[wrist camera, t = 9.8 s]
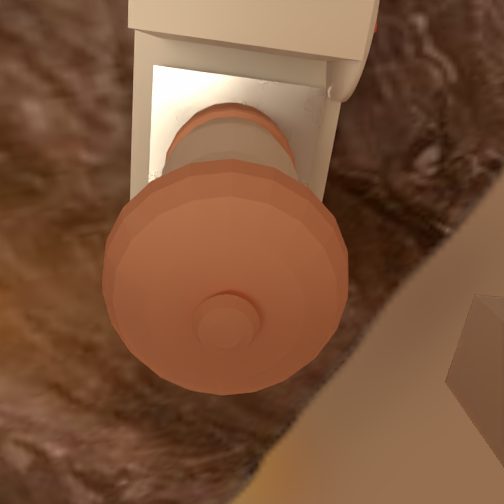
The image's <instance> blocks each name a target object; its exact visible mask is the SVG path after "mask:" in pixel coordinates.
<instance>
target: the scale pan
mask: <svg viewBox="0 0 504 504" xmlns="http://www.w3.org/2000/svg"><path fill="white" fill-rule="evenodd" d="M325 92H326V89H325V88H320V87H312V86H305V85H297V84H290V83H283V82H275V81H268V80H261V79H253V78H246V77H238V76H231V75H224V74H216V73H209V72H202V71H194V70H187V69H179V68H172V67H165V66H157V65H154V69H153V92H152V115H151V138H150V161H149V183H150V182H151V181H152V180H154V179H156V178H158V177H160V176H162V169H163V167H164V165H165V160H166V153H167V151H168V149H169V147H170V145H171V143H172V141H173V139H174V137H175V135H176V133H177V132H178V131H179V130H180V128H181V127H182V126H183V125H184V124H185V123H186V122H187V121H188V120H189V119H190V118H191V117H192V116H193V115H194V114H195V113H196V112H198V111H200V110H203V109H205V108H207V107H209V106H211V105H213V104H221V103H231V102H234V103H239V104H243V105H248V106H252V107H254V108H255V109H257V110H259V111H260V112H262V113H264V114H265V115H267V116H268V117H269V118H270V119H271V120H272V121H273V122H274V123H275V125H276V126H277V127H278V128H279V129H280V131H281V132H282V133H283V135H284V136H285V138H286V139H287V141H288V144H289V146H290V149H291V152H292V154H293V157H294V159H295V171H296V173H297V176H298V182H300V183H302V184H303V185H305V186H307V187H308V188H309V182H310V176H311V171H312V165H313V160H314V154H315V148H316V143H317V137H318V132H319V126H320V120H321V115H322V109H323V103H324V98H325Z"/></svg>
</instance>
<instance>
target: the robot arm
mask: <svg viewBox="0 0 504 504" xmlns="http://www.w3.org/2000/svg"><path fill="white" fill-rule="evenodd" d="M445 383H446V384H447V386H448V387H449V389H450V390H451V392H452V393H453V394H454V396H455V397H456V398H457V400H458V402H459V403H460V404H461V406H462V407H463V409H464V410H465V412H466V413H467V415H468V416H469V418H470V419H471V420H472V422H473V423H474V425H475V426H476V428H477V429H478V430H479V432H480V434H481V435H482V436H483V438H484V439H485V441H486V442H487V444H488V445H489V446H490V448H491V449H492V451H493V452H494V454H495V455H496V457H497V458H498V460H499V461H500V463H501V464H502V465H503V467H504V298H503V297H498V296H487V295H477V294H475V296H474V298H473V301H472V304H471V307H470V310H469V313H468V316H467V319H466V322H465V325H464V328H463V330H462V333H461V337H460V339H459V342H458V345H457V348H456V351H455V354H454V357H453V360H452V363H451V366H450V368H449V371H448V375H447V377H446V380H445Z"/></svg>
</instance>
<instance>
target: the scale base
mask: <svg viewBox="0 0 504 504" xmlns="http://www.w3.org/2000/svg"><path fill="white" fill-rule="evenodd" d="M378 7H379V0H129V4H128V28H130V29H134V30H135V44H134V79H133V114H132V150H131V185H130V200H132V199H133V198H134V197H135V196H136V195H137V194H138V193H139V192H140V191H141V190H142V189H143V188H144V187H145V186H146V185H147V184H149V161H150V138H151V115H152V92H153V69H154V65H157V66H165V67H172V68H179V69H187V70H194V71H202V72H209V73H216V74H224V75H231V76H238V77H246V78H253V79H261V80H268V81H275V82H283V83H290V84H297V85H305V86H312V87H320V88H325V89H326V92H325V98H324V103H323V109H322V115H321V120H320V126H319V132H318V137H317V143H316V148H315V154H314V160H313V165H312V171H311V176H310V182H309V188H310V189H311V190H312V192H313V193H314V194H315V195H316V196H317V197H318V199H319V200H320V201H321V202H322V200H323V195H324V190H325V185H326V179H327V174H328V169H329V164H330V158H331V153H332V148H333V143H334V138H335V132H336V127H337V122H338V117H339V112H340V106H341V102H346V101H347V100H348V99H349V98H350V97H351V95H352V94H353V92H354V90H355V88H356V86H357V84H358V82H359V79H360V77H361V74H362V72H363V69H364V66H365V63H366V60H367V56H368V53H369V49H370V46H371V42H372V38H373V33H376V29H377V24H378V23H376V19H377V13H378Z"/></svg>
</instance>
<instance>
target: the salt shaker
mask: <svg viewBox="0 0 504 504" xmlns="http://www.w3.org/2000/svg"><path fill="white" fill-rule="evenodd" d="M102 290H103V294H104V298H105V302H106V306H107V310H108V314H109V318H110V322H111V324H112V325H113V327H114V328H115V330H116V331H117V333H118V334H119V336H120V337H121V339H122V341H123V342H124V344H125V345H126V347H127V348H128V350H129V351H130V352H131V353H132V354H133V355H134V356H136V357H137V358H138V359H139V360H140V361H141V362H143V363H144V364H145V365H146V366H148V367H149V368H150V369H151V370H152V371H154V372H155V373H156V374H157V375H158V376H160V377H161V378H163V379H165V380H167V381H170V382H172V383H174V384H177V385H179V386H181V387H184V388H186V389H188V390H190V391H197V392H203V393H210V394H216V395H231V394H241V393H251V392H256V391H259V390H261V389H264V388H267V387H269V386H272V385H275V384H277V383H280V382H283V381H285V380H286V379H288V378H289V377H290V376H292V375H293V374H294V373H296V372H297V371H299V370H300V369H301V368H303V367H304V366H305V365H307V364H308V363H309V362H311V361H312V360H313V359H314V358H315V357H317V355H318V354H319V353H320V352H321V350H322V349H323V348H324V346H325V345H326V344H327V342H328V341H329V340H330V338H331V337H332V336H333V334H334V333H335V332H336V330H337V328H338V325H339V322H340V319H341V316H342V313H343V311H344V308H345V305H346V302H347V299H348V251H347V248H346V245H345V243H344V240H343V238H342V235H341V232H340V230H339V227H338V224H337V222H336V219H335V217H334V216H333V215H332V214H331V213H330V211H329V210H328V209H327V208H326V207H325V206H324V204H323V203H322V202H321V201H320V200H319V199H318V197H317V196H316V195H315V194H314V193H313V192H312V190H311V189H310V188H308V187H307V186H305V185H303V184H302V183H300V182H298V176H297V173H296V171H295V159H294V157H293V154H292V152H291V149H290V146H289V144H288V141H287V139H286V138H285V136H284V135H283V133H282V132H281V131H280V129H279V128H278V127H277V126H276V125H275V123H274V122H273V121H272V120H271V119H270V118H269V117H268V116H267V115H265V114H264V113H262V112H260V111H259V110H257V109H255V108H254V107H252V106H248V105H243V104H239V103H234V102H231V103H221V104H213V105H211V106H209V107H207V108H205V109H203V110H200V111H198V112H196V113H195V114H194V115H193V116H192V117H191V118H190V119H189V120H188V121H187V122H186V123H185V124H184V125H183V126H182V127H181V128H180V130H179V131H178V132H177V133H176V135H175V137H174V139H173V141H172V143H171V145H170V147H169V149H168V151H167V153H166V160H165V165H164V167H163V169H162V176H160V177H158V178H156V179H154V180H152V181H151V182H150V183H149V184H147V185H146V186H145V187H144V188H143V189H142V190H141V191H140V192H139V193H138V194H137V195H136V196H135V197H134V198H133V199H132V200H130V201H129V202H128V203H127V204H126V205H125V206H124V207H123V208H122V210H121V212H120V214H119V216H118V218H117V220H116V222H115V224H114V226H113V228H112V230H111V232H110V234H109V236H108V238H107V240H106V246H105V255H104V265H103V274H102Z"/></svg>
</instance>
